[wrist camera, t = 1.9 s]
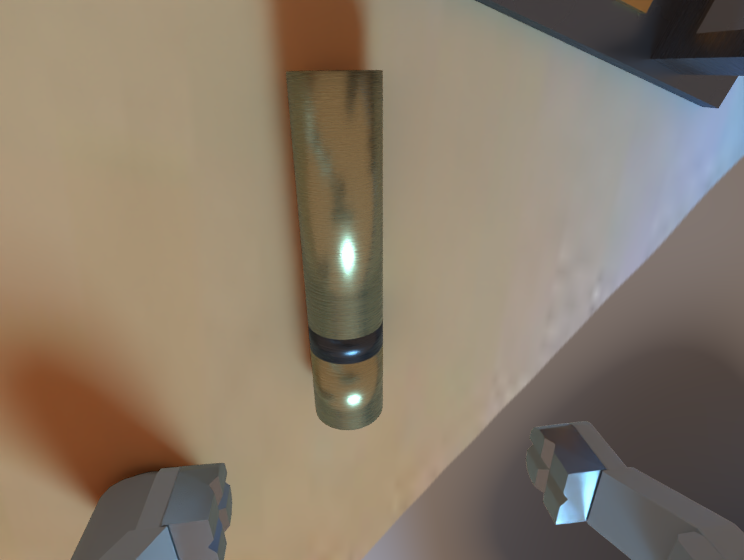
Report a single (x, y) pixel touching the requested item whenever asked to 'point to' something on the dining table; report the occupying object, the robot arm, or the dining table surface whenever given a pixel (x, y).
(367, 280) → the tube
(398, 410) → the dining table surface
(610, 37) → the stand
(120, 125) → the dining table surface
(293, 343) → the dining table surface
